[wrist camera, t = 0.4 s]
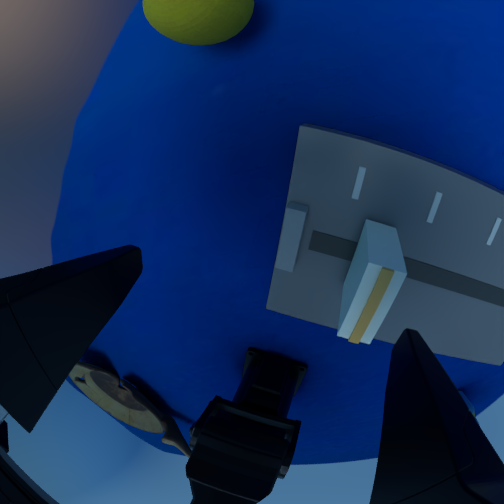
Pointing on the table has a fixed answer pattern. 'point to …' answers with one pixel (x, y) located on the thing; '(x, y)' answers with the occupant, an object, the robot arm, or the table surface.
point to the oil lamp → (126, 403)
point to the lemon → (198, 19)
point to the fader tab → (371, 282)
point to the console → (410, 236)
